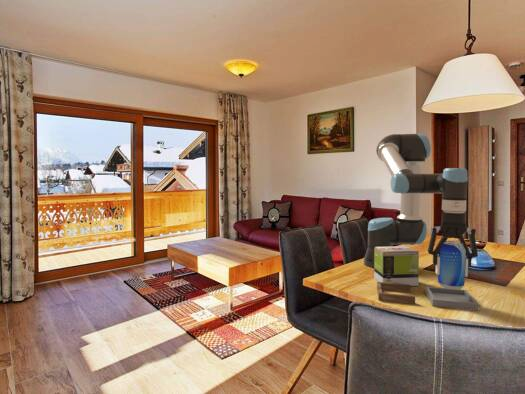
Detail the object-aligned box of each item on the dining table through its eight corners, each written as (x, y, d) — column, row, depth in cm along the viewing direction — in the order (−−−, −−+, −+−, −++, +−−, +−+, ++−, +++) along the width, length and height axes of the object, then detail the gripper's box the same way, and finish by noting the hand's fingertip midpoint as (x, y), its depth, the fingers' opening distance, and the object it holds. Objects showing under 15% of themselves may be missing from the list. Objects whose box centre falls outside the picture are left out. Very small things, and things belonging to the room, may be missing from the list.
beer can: (433, 285, 121) (434, 241, 120) (444, 281, 126) (445, 239, 125) (457, 292, 114) (459, 246, 113) (468, 287, 119) (470, 242, 118)
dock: (376, 288, 134) (377, 281, 134) (409, 291, 130) (410, 284, 130) (378, 300, 121) (378, 293, 121) (415, 304, 118) (415, 297, 117)
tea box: (407, 278, 146) (408, 245, 145) (418, 286, 136) (420, 250, 135) (373, 279, 145) (374, 245, 144) (382, 286, 135) (383, 251, 134)
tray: (425, 292, 129) (425, 286, 129) (466, 296, 125) (466, 289, 125) (432, 306, 116) (432, 299, 116) (478, 310, 112) (478, 303, 112)
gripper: (423, 212, 117) (420, 275, 119) (491, 214, 112) (488, 280, 113) (419, 209, 125) (417, 269, 126) (483, 211, 119) (481, 274, 120)
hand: (451, 274), depth 120 cm, fingers closed on beer can, 8 cm apart
